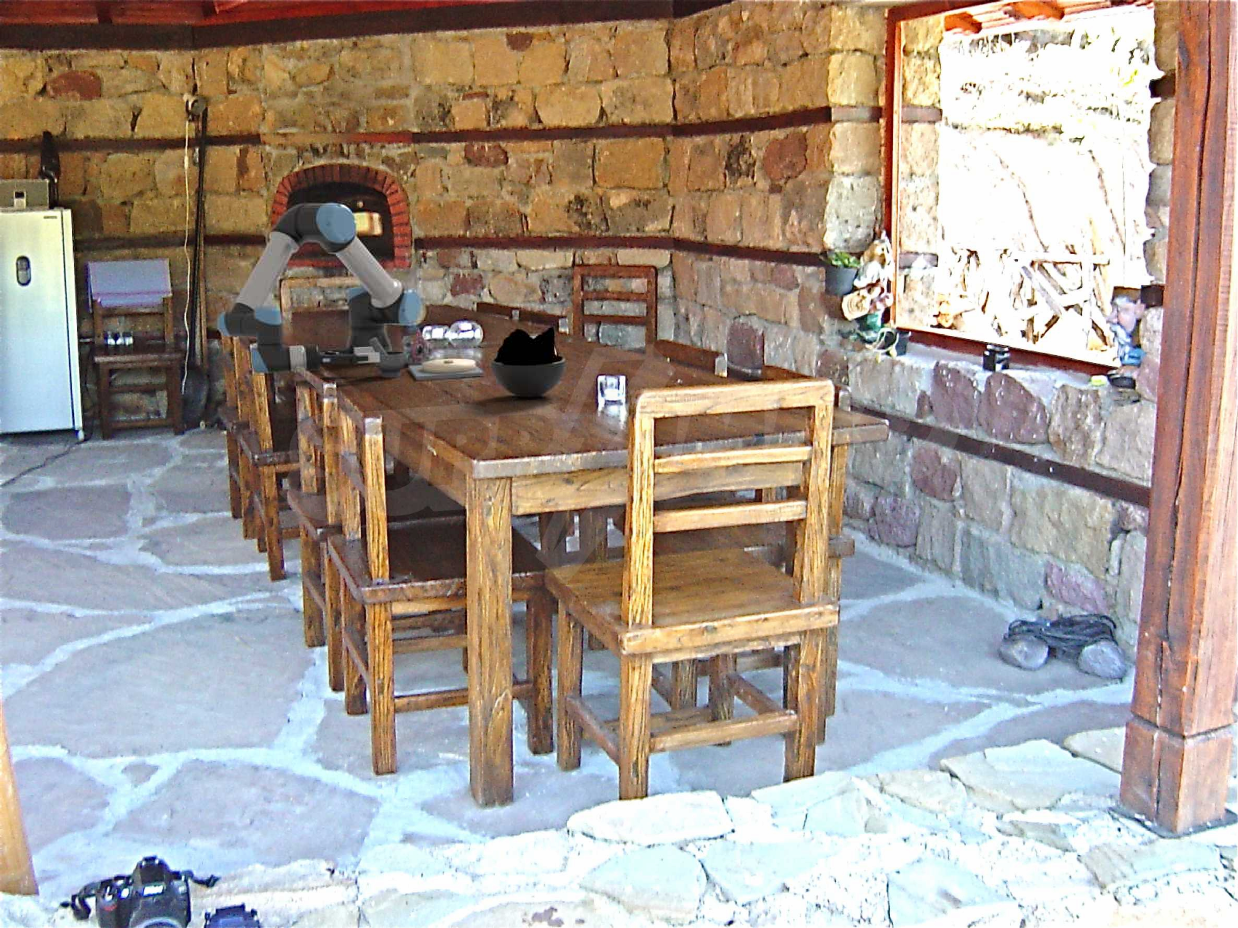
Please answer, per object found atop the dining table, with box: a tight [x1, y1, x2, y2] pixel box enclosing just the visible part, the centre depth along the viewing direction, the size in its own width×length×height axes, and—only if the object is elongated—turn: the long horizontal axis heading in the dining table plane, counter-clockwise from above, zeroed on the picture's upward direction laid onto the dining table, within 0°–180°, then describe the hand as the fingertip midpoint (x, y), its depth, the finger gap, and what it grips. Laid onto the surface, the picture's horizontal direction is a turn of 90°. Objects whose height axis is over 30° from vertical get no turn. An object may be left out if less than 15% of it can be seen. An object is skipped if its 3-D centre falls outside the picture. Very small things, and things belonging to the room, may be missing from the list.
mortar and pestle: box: [369, 337, 407, 378], centre depth 397 cm, size 11×9×12 cm
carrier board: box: [408, 358, 485, 381], centre depth 401 cm, size 22×20×4 cm
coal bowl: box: [490, 326, 566, 398], centre depth 355 cm, size 20×20×19 cm
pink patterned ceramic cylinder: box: [401, 329, 436, 367], centre depth 419 cm, size 11×11×12 cm
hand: (377, 354), depth 396 cm, fingers open, 13 cm apart
